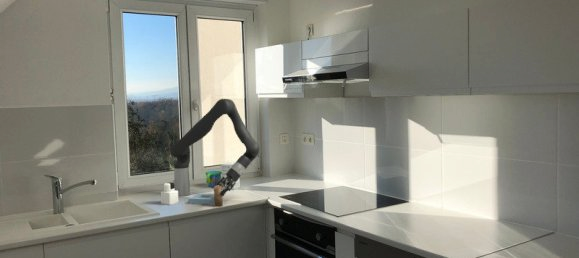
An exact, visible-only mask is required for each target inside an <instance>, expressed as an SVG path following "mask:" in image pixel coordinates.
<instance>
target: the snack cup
mask: <svg viewBox="0 0 579 258" xmlns="http://www.w3.org/2000/svg"><path fill="white" fill-rule="evenodd" d="M205 176H206V181H205V182H206V183H207V185H208V187H209V188H214V186H218V185H217V184H218V182H219V181H220V180H221V179H222V172H221V170H209V171H206V172H205Z"/></svg>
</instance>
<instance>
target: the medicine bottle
mask: <svg viewBox="0 0 579 258" xmlns="http://www.w3.org/2000/svg"><path fill="white" fill-rule="evenodd" d="M178 203H179V196H178V191H176V190H175V187H174V183H173V181H172V182H165V183H164V184H163V190H162V191H161V192H160V204H161V205H167V206H171V205H174V204H178Z"/></svg>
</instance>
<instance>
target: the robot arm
mask: <svg viewBox="0 0 579 258" xmlns="http://www.w3.org/2000/svg"><path fill="white" fill-rule="evenodd" d="M223 115H226V116H227V117H228V118H229V119H230V121H231V123H232V125H233V129H234V132H235V134H236V136H237V138H238V139H239V141H240V142H241V143H242V145H244V146H245V149H246V151H245V152H244V153H242V155H240V156H239V157H238V158H237V160H236V161H235V162H233V163H234V164H233V166H232V167H231V168H230V169H229V171H228V172H227V173H226V175H227V177H226V178H224V177H223V178H222V177H221V180H220V181H219V182H218V184H217V185H218V186H222V187H225V188H224V189H222V192H221V193H220V195H221V196H222V197H224V196H225V194H227V192H230V191H232V190H231V189H232V188H233V186H234V185H235V184H236V181H237V180H238V179H239V178H240V179H241V176H242V175H243V174H244V172H245V171H246V170H247V168H248V167H249V165H250V164H251V163H252V162H253V161H254V160H255V159H256V158H257V157H258V156H259V154H260V145H259V144H258V143H257V141H256V139H254V137H253V136H252V135H251V133H250V131H249V130H248V128H247V126H246V125H245V123H244V122H243V120H242V117H241V115H240V113H239V111H238V109H237V106H236V104H235V102H234V100H232V99H230V98H220V99H219V100H218V101H216V103H215V104H214V105H213V106H212V107H211V108H210V110H209V111H208V112H206V113H205V115H203V116H202V117H201V118H200V119H199V120H198V121H197V122H196V123H195V124H194V125H193V126H192V127H191V128H190V129H189V130H188V131H187V132H186V133H185V134H184V135H183V136H182V137H181V138H179V139H178V140H177V141H176V142H174V143H173V144H172V145H171V147H170V154H171V156H172V157H174V158H176V160H175V162H174V163H173V173H174V174H173V175H174V176H173V177H174V179H173V180H172V183H174V187H175V190H176V191H178V197H186V196H189V195H191V190H190V189H191V188H190V162H191V150H190V149H191V148H190V147H191V146H192V145H193V144H195V143H197V142H199V141H201V140H202V139H203V138H204V137H206V136H207V135H208V134H209V133H210V132H211V131H212V129H213V127H214V124H215V123H216V122H217V120H219V118H221V117H222V116H223Z"/></svg>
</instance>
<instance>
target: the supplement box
mask: <svg viewBox="0 0 579 258" xmlns="http://www.w3.org/2000/svg"><path fill="white" fill-rule="evenodd" d="M234 163H235V162H225V163H221V165H220V167H221V170H220V171H221V172H222V174H221V179H222V178H223V177H224V178H226V177H227V175H226V173H227V172H228V171H229V169H230V168H231V167H232V166H233V164H234ZM240 179H241V177H240V178H239V179H238V180H237V181H236V184H235V185H234V186H233V188H232V189H231V190H230V191H235V190H237V189H239V188H240V187H241V185H240V184H241V180H240ZM224 188H225V187H222V190H223V189H224ZM240 189H241V188H240Z"/></svg>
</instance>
